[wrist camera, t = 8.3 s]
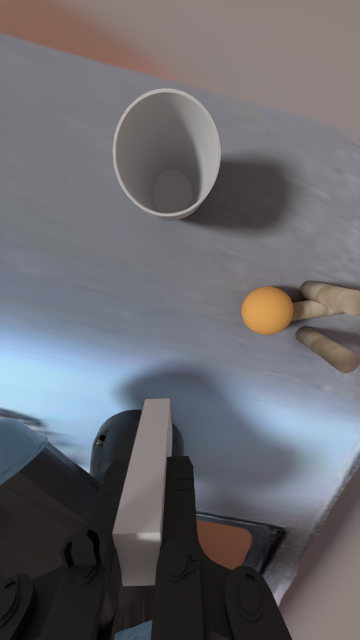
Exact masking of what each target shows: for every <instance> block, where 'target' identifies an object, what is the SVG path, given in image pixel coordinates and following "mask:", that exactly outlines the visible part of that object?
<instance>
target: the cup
mask: <svg viewBox="0 0 360 640" xmlns="http://www.w3.org/2000/svg"><path fill="white" fill-rule="evenodd" d="M220 155H221V151H220V141H219V136H218V132H217V129H216V126H215V124H214V122H213V120H212V118H211V116H210V114H209V113H208V112H207V110H206V109H205V108H204V107H203V105H202V104H201V103H200V102H199V101H197V100H196V99H195V98H193V97H192V96H190V95H189V94H187V93H185V92H182V91H179V90H175V89H157V90H153V91H150V92H147V93H145V94H143V95H142V96H140V97H139V98H137V99H136V100H135V101H134V102H133V103H132V104H131V105H130V106H129V107H128V108H127V109H126V111H125V112H124V114H123V115H122V117H121V119H120V121H119V123H118V126H117V129H116V132H115V136H114V142H113V161H114V167H115V171H116V175H117V177H118V180H119V182H120V184H121V186H122V188H123V190H124V191H125V193H126V194H127V196H128V197H129V198H130V199H131V200H132V201H133V202H134V203H135V204H136V205H137V206H139V207H140V208H142V209H143V210H144V211H146V212H147V213H149V214H150V215H152V216H154V217H156V218H158V219H162V220H169V221H172V220H179V219H182V218H185V217H187V216H188V215H190V214H192V213H193V212H194V211H195V210H196V209H197V208H198V207H199V206H200V205H201V203H202V202H203V200H204V199H205V198H206V196H207V195H208V193H209V192H210V190H211V189H212V187H213V185H214V183H215V180H216V178H217V174H218V171H219V166H220Z"/></svg>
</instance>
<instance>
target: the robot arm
mask: <svg viewBox="0 0 360 640" xmlns="http://www.w3.org/2000/svg"><path fill="white" fill-rule="evenodd" d="M0 640H292V638H291V636H290V633H289V631H288V629H287V627H286V624H285V622H284V620H283V617H282V615H281V613H280V611H279V608H278V606H277V604H276V601H275V599H274V597H273V594H272V592H271V590H270V588H269V586H268V585H267V583H266V581H265V580H264V578H263V577H262V576H261V575H260V574H259V573H258V572H257V571H256V570H255V569H252V568H250V567H248V566H238V567H236V568H235V569H234V570H230V569H228V568H226V567H223V566H221V565H219V564H217V563H215V562H213V561H212V560H210V559H209V558H208V557H207V556H206V555H205V553H204V552H203V550H202V548H201V546H200V544H199V541H198V536H197V524H196V507H195V491H194V474H193V465H192V463H191V461H190V459H189V457H188V456H183V440H182V437H181V434H180V432H179V431H178V429H177V428H176V427H175V426H174V424H172V422H171V409H170V398H161V399H145V402H144V406H143V410H131V411H125V412H121V413H119V414H116V415H114V416H112V417H111V418H109V419H108V420H107V421H106V422H105V423H104V424H103V425H102V426H101V428H100V430H99V432H98V434H97V436H96V438H95V440H94V443H93V447H92V454H91V464H90V474H89V473H87V472H86V471H85V470H84V469H82V468H81V467H80V466H78V465H77V464H76V463H75V462H73V461H72V460H71V459H69V458H68V457H67V456H66V455H64V454H63V453H62V452H61V451H59V450H58V449H57V448H56V447H54V446H53V445H52V444H50V443H49V442H48V438H47V437H46V436H45V435H39V434H38V433H36V432H35V431H33V430H32V429H30V428H29V427H28V426H26V425H25V424H23V423H22V422H20V421H19V420H16V419H13V418H3V419H0Z"/></svg>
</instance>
